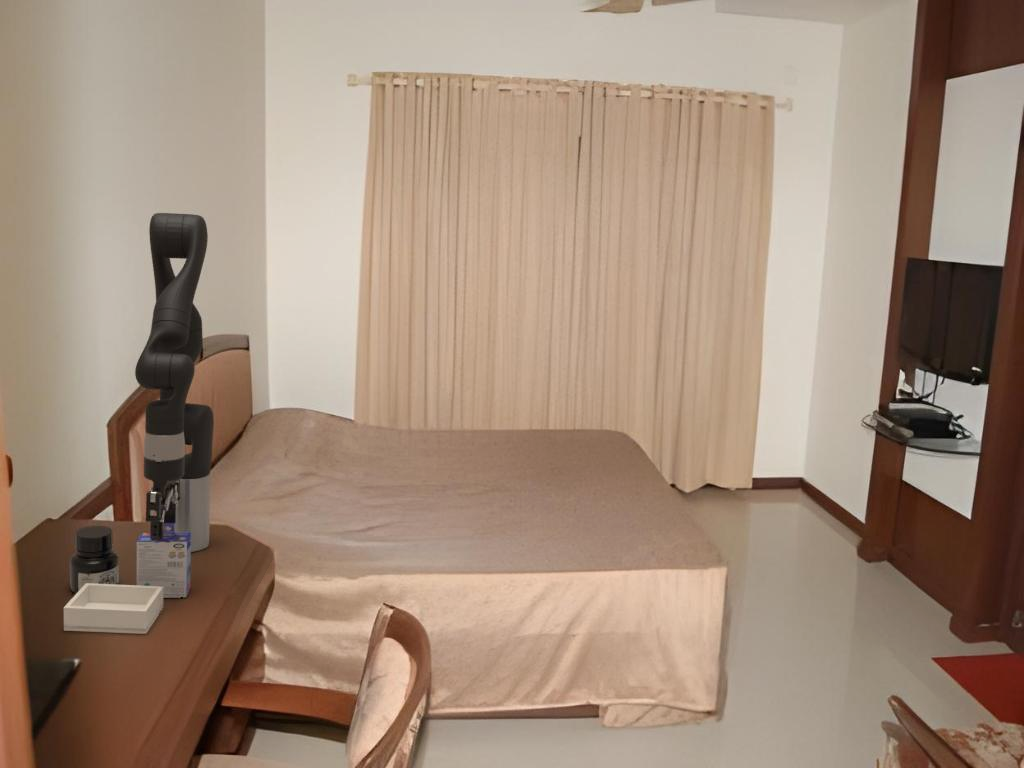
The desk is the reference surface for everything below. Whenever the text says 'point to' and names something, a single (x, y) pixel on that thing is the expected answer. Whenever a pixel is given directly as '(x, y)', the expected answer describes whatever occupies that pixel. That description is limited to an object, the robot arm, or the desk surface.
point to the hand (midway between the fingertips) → (163, 531)
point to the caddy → (113, 608)
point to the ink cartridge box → (165, 562)
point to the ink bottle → (93, 558)
